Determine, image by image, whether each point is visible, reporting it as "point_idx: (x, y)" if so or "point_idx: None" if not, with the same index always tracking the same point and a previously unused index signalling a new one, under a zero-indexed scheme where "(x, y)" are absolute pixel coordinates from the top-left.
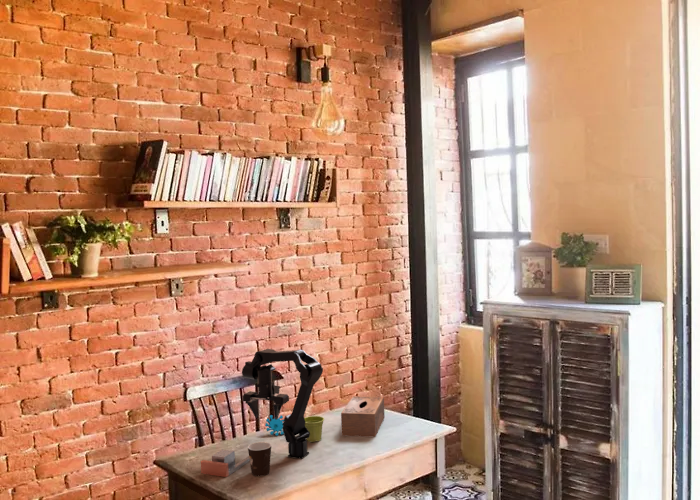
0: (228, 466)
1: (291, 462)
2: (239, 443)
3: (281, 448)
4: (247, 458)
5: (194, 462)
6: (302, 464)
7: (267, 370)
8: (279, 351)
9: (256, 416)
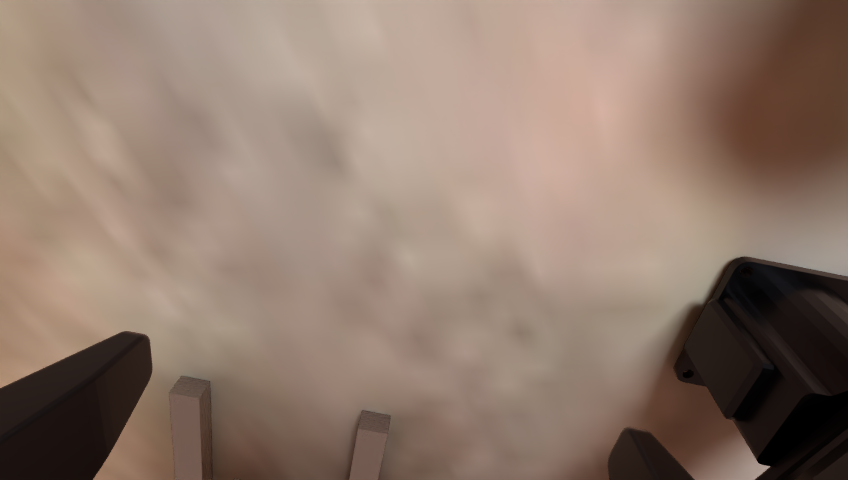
0: None
1: (712, 445)
2: (73, 79)
3: (579, 181)
4: (372, 461)
5: None
6: None
7: None
8: None
9: (133, 393)
